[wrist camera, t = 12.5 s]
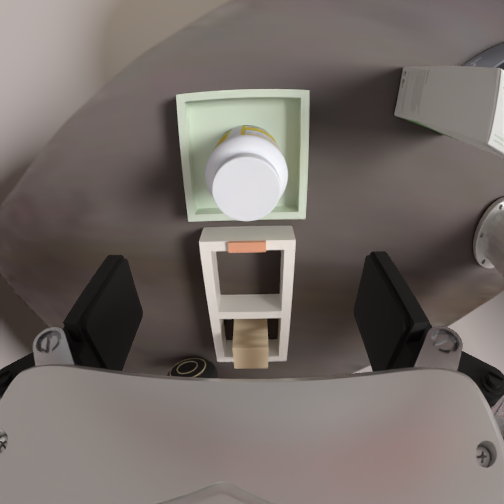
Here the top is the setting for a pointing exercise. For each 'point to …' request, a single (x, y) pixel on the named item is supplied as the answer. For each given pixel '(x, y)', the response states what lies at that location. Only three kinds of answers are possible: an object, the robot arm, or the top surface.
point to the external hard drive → (489, 58)
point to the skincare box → (456, 103)
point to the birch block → (250, 343)
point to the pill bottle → (246, 173)
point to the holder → (250, 304)
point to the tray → (237, 114)
